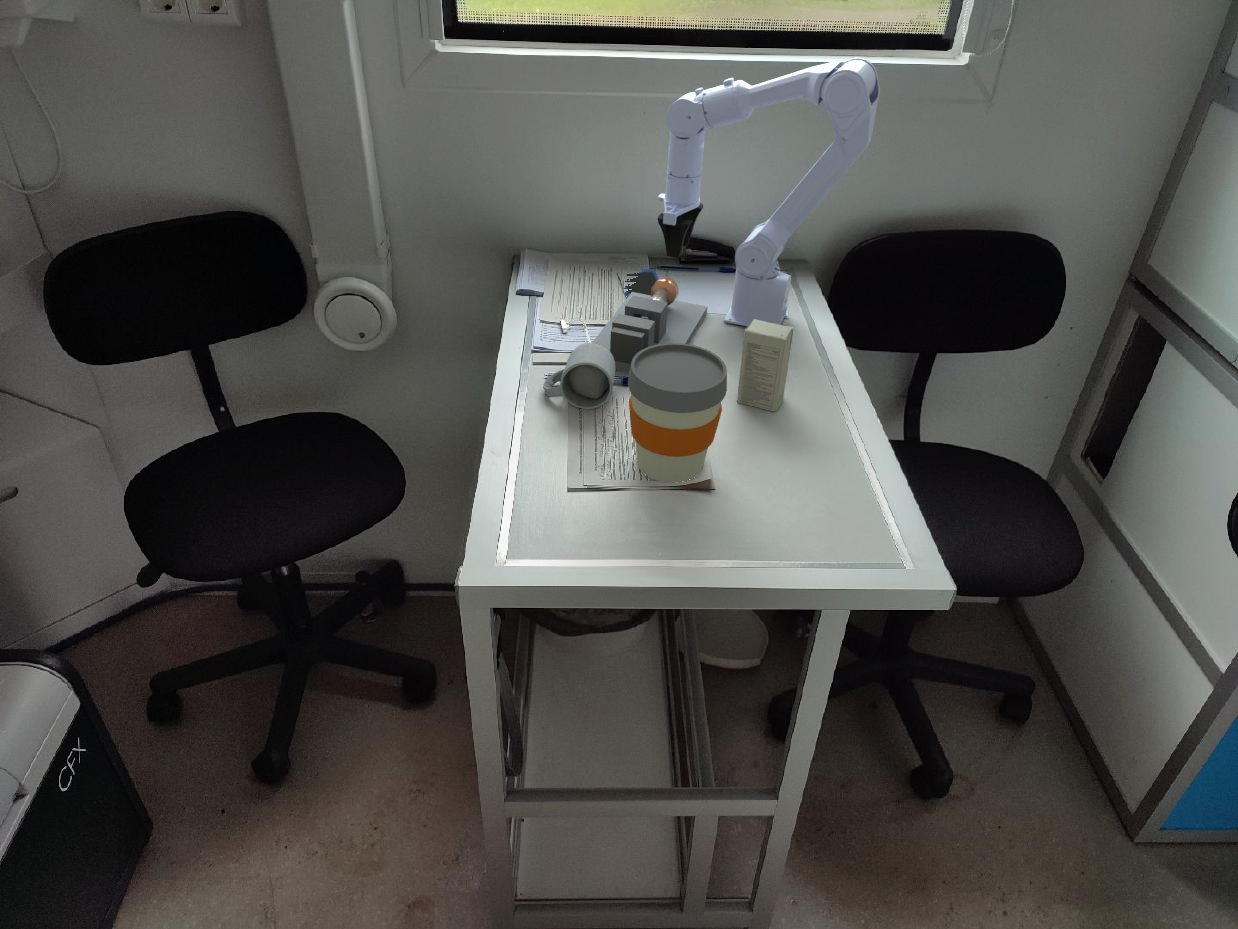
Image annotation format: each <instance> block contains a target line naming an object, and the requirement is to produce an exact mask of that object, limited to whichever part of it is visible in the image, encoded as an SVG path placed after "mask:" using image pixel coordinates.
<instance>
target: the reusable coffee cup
mask: <svg viewBox="0 0 1238 929" xmlns="http://www.w3.org/2000/svg"><path fill="white" fill-rule="evenodd" d="M627 387H628V391H629V392H630V397H629V398H628V400H629V401H628V410H629V420H630V432H631V435H632V438H633V440H634V443H635V452H636V455H635V456H636V463H637V466H638V468H639V470H640V471H641V473H643V474H644V475H645V476H647V477H648V478H650V479H652V480H654V481H657V482H661V483H666V482H672V483H671V484H676V483H675V482H680V483H683V482H682V481H685V482H688V481H690V480H689V479H691V480H693V479H694V477H695V478H696V477H698V476H699V475H700V474H701V472H702V470H703V468H704V464H705V460H706V457H707V454H708V450H709V448H710V447H711V445H712V444H713V442H714V440H715V437H716V434H717V430H718V426H719V423H720V420H721V416H722V412H723V407H722V401H723V400H724V399H725V397H726V395H727V391H728V389H727V388H728V370H727V365H726V363H725V361H724V360H723V359H722V358H721V357H720V356H719V355H717V354H716V353H715V352H713V351H711V350H708V349H707V348H704V347H701V346H697V345H694V344H690V343H689V344H683V343H664V344H658V345H653V346H650V347H647V348H645V349H643V350H641V351H640V352H638V353H637V354H636V355H635V356H634V357H633V359H632V362H631V367H630V372H628V378H627ZM697 475H698V476H697ZM687 480H688V481H687Z"/></svg>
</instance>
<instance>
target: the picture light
mask: <svg viewBox="0 0 1238 929" xmlns="http://www.w3.org/2000/svg"><path fill="white" fill-rule="evenodd" d="M574 319H575V320H574ZM572 320H573V321H572ZM581 320H582V319H581V318H580V317H578V319H576V317H573V318H571V319H570V320H569V322H568V324H567V323H566V321H565V319H561V320H559V322H560V321H561V323H560V325H561V327H562V334H563V333H567V334H568V332H569V330H571V325H572V324H573V323H574V322H577V321H578V322H581V323H582V322H583V325H584V328H583V331H584V332H585V331H586V334H587V338H589V343H592V342H593V341H592V339H591V336H590V334H589V335H588V333H589V330H588V327H587V323H586V322H584V321H585V320H584V321H583V320H582V321H581ZM571 321H572V322H571ZM583 325H582V326H583ZM587 338H586V339H587ZM590 339H591V340H590Z"/></svg>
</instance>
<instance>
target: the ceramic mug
mask: <svg viewBox="0 0 1238 929" xmlns="http://www.w3.org/2000/svg"><path fill="white" fill-rule="evenodd" d="M565 364H566V365H565V367H564V368H563V369H561V370H558V371H556V372H554V373H552V374H551V375H550V376H548V377H547V378H546V380H544V382H543V385H542V389H543V391H544V393H545V395H546V396H547V397H550V398H559V397H563V398H564V399H565V400H566V401H567V402H568V403H569V404H570V405H572V406H574V407H576V408H579V409H583V410H593V409H597V408H599V407H602V406H603V405H605V404H606V403H607V401H609V399H610V398H611V395H612V394H613V393H612V392H613V389H614V388H613V386H614V382H615V374H616V369H615V361H614V358H613V356H612V354H611V352H610V351H609V350H608V349H607V348H606V347H604V346H602V345H600V344H597V343H588V342H586V343H582V344H580V345H579V346H577V347H575V349H574V350H573V351H571V353H570V354H569V357H568V358H567V362H566V363H565ZM558 382H559V386H554V385H556V384H557V383H558ZM553 386H554V387H553Z"/></svg>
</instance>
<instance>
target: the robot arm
mask: <svg viewBox="0 0 1238 929" xmlns="http://www.w3.org/2000/svg"><path fill="white" fill-rule="evenodd" d="M841 62H842V60H838V61H830V62H827V63H826V62H825V63H823V64H818V65H814V66H809V67H806V68H804V69H801V70H797V71H795V72H790V73H788V74H785V75H782V76H780V77H776V78H773V79H769V80H765V81H763V82H760V83H758V84H754V85H751V84H749V83H748V82H746V81H745V80H743V79H739V80H735V78H734V77H730V78H727V79H724V81H723V82H722V83H723V84H722V85H718V86H715V87H712V88H711V87H710V88H707V89H704V87H699V88H696V89H695V90H694V91H692V92H688V93H686V94H684V95H682V96H681V97H679V98H678V99H677V100H674V102H672V103H671V104H670V105H669V106H668V109H667V111H666V115H665V124H666V126H667V128H668V130H669V140H668V141H669V142H668V151H667V168H666V180H665V192H664V193H662V192H661V193H660V194H659V195H658V196H657V197H658V198H657V201H659V202H662V203H663V207H664V210H663V211H664V212H663V213H660V214H659V215H658V217H657V223H658V225H659V227H660V229H661V232H662V235H663V239H664V245H665V246H664V247H665V251H666V256H667V257H671V258H677V259H679V258H680V256H681V253H682V250H683V247H688V246H689V244H690V241H691V237H692V234H693V230H694V227H695V224H696V222H697V219H698V217H699V215H700V213H701V211H702V210H703V209H704V204H703V203H701V198H700V196H701V195H700V192H701V185H702V184H701V182H702V174H703V173H702V172H703V160H704V153H705V152H704V150H705V136H706V135H705V134H706V129H707V130H708V129H709V130H710V129H715V128H720V127H723V126H726V125H727V126H728V125H730V124H735V123H738V122H742V121H745V120H748V119H749V118H750V117H751V116H752V114H753V113H754V110H755V109H757V108H762V107H767V106H771V105H774V104H779V103H784V102H787V101H788V102H789V101H792V100H797V99H801V98H802V99H806V100H807V101H808V102H810V103H811V104H813V105H815V106H817V107H818V106H819V105H820V104H821V103H823V106H824V108H825V110H826V112H827V114H828V115H829V118H830V119H831V122H832V128H833V134H834V140H833V141H832V142H831V144H830V145H829V146H828V147H827V149H826V150H825V151H824V152H823V154H822V155H821V156H820V157H819V158H818V160H817V161H816V162H815V163H814V164H813V166H812V167H811V168H809V170H808V172H807V173H806V174H805V175H804V176H803V177H802V179H801V180H800V181H799V182H798V184H797V185H796V186H795V187H794V189H793V190H791V192H790V193H789V194H788V195H787V197H786V198H785V199H784V201H783V202H782V203H781V204H780V206H778V208H777V209H776V210H775V211H774V212H773V213H772V215H771V216H770V218H768V219H767V220H766V221H764V222H762V223H760V224H757V225H755V227H754V228H753V229H752V230H751V232H750V234H749V236H747V238H746V239H745V240H744V241H743V242H742V243H741V244H740V245H739V246H738V247H737V249H736V250H735V253H734V254H735V255H734V262H735V265H736V269H735V270H736V271H735V277H734V286H733V293H732V298H731V299H732V300H731V305H730V307H729V310H728V312H727V314H726V315H725V317H724V319H723V321H724V322H725V323H728V324H731V325H733V324H734V325H739V326H742V327H743V326H744V327H748V326H749V324H750V323H751V322H752V321H753V320H754V319H757V320H762V321H767V322H772V323H776V324H781V325H782V323H783V320H784V318H785V317H786V316H787V310H788V306H787V305H788V300H789V294H790V291H791V290H790V289H791V284H792V282H791V281H792V275H790V274H787V273H785V272H782V271H781V270H780V264H779V261H778V258H779V256H780V255H781V254H782V253H783V252H784V250H785V248H786V245H787V244H786V243H787V241H788V240H789V238H790V237H791V236H792V235H793V234H794V233H795V231H796V230H797V229H798V228H799V227H800V225H801V224H802V223H803V222H804V221H805V220H806V219H807V218H808V216H809V215H810V214H811V213H813V210H815V208H816V207H817V206H818V205H819V203H820V202H821V201H822V200H823V199H824V198H825V197H826V195H827V194H828V193H829V192H830V191H831V190H832V189H833V188H834V186H835V185H836V184H837V183H838V182H839V181H840V179H841V178H842V177H843V176H844V175H845V173H847V171H848V170H849V169H850V168H851V166H853V164H854V163H855V162H856V161H857V160H858V159H859V158H860V156H861V155H862V154H863V153H864V152H865V150H866V149H867V147H868V146H869V144H870V143H871V141H872V138H873V132H874V126H875V119H876V114H877V108H878V104H879V98H880V95H881V88H880V83H879V82H880V81H879V76H878V72H877V68H876V67H875V66H874V64H872V62H870V60H868V59H866V58H862V57H853V58H849V59H847V60H845V61H844V62H843V63H842V64H841ZM840 64H841V65H840ZM838 65H839V67H838V68H836V67H837V66H838Z"/></svg>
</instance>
